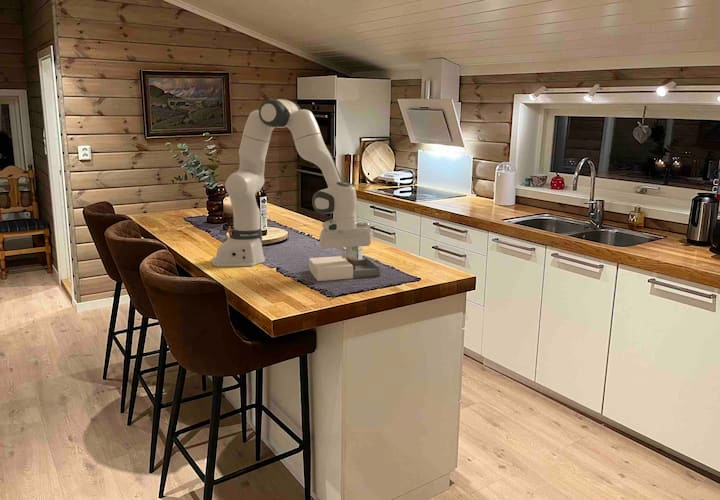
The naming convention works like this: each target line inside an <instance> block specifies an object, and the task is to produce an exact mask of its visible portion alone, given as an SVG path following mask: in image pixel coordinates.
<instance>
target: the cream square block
mask: <svg viewBox="0 0 720 500" xmlns="http://www.w3.org/2000/svg"><path fill="white" fill-rule="evenodd" d="M308 271H309V272H310V273H311V275H312V276H313V277H314V279H315V280H316V281H317V282H322V281H324V282H325V281H335V280H336V281H337V280H349V279H354V278H353V265H352V264H350V263H349V262H348V261H347V260H346V258H341V255H338V256H337V255H336V256H335V255H334V256H322V257H321V256H320V257H308Z"/></svg>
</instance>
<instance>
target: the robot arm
mask: <svg viewBox="0 0 720 500" xmlns="http://www.w3.org/2000/svg"><path fill="white" fill-rule="evenodd" d="M275 128H279V129H284V128H287V129H288V130H289V131H290V133H291V134H292V138H293V142H294V146H295V150H296V151H297V153H298V155H299V157H300V158H302V159H303V160H305V161H307V162H310V163H312V164H314V165H316V166H317V167H318V168H319V169H320V170H321V172H322V175H323V178H324V180H325V182H326V185H327V187H326V188H324V189H321V190H318V191H316V192H315V193H314V194H313V196H312V199H311V202H312V208H313V209H314V210H315V212H317V213H318V214H322V215H327V214H333V218H332V219H330V220H327V221H324V222H322V225H321V226H322V228H323V229H322V230H321V231H320V235H319V246H320V248H322V249H323V250H326V249H328V250H329V249H338V251H339V253H340V256H341V258H345V259H346V258H349V254H350V253H351V251H352V247H359V246H362V247H369V246H370V245H371V244H372V243H371V234H370V233H371V232H372V231H371V229H372V228H371V227H372V226H371V224H369V223H368V222H357V218H358V217H357V212H356V210H357V200H358V199H357V191H356V187H355V185H354V184H353V183H350V182H347V181H343V180H342V177H341V175H340V173H339V170H338V168H337V165H336V162H335V160H334V158H333V156H332V153H331V152H330V151H329V149H328V147H327V145H326V144H325V141H324V138H323V136H322V133H321V130H320V126H319V124H318V122H317V120H316V117H315V116H314V114H313V112H312V111H311V110H309V109H301V107H300V105H299V104H297V103H296V102H295V101H292V100H288V99H283V98H278V99H275V98H269V99H267V100H265V101H263V102H262V103H261V104H260V106H259V109H255V110H252V111H251V112H250V113H249V116H248V117H247V120H246V123H245V125H244V129H243V132H242V137H241V140H240V144H239V149H238V155H239V166H238V167H239V168H238V170H236V171H234V172H232V173H231V174H230V175H229V176H228V177H227V179H226V180H225V183H224V188H225V191H226V192H227V194H228V196H229V200H230V202H231V203H230V204H231V206H232V214H233V228H231V227H230V228H227V234H228V235H229V238H228V239H226V240H225V241H223V243H221V244H220V245H219V246H218V248H217V250H216V254H215V255H216V256H214V257H212V258H211V265H212V266H214V267H219V268H221V267H222V268H225V267H226V268H228V267H253V266H256V265H257V264H258V265H259V264H261V263H264V262H265V261H266V257H265V255H264V250H263V244H262V243H263V242H262V241H263V232H262V231H263V230H262V227H261V210H260V208H259V205H258V202H257V199H256V193H259V191H261V189H262V188H263V187H264V184H265V167H266V166H265V165H266V157H267V152H268V149H269V144H270V142H271V141H270V140H271V137H272V133H273V130H274V129H275ZM346 247H347V248H348V251H347V253H346V252H343V251H344V248H346Z"/></svg>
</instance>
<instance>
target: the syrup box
mask: <svg viewBox="0 0 720 500" xmlns="http://www.w3.org/2000/svg"><path fill="white" fill-rule="evenodd" d="M347 251H348V248H347V247H345V253H347ZM349 257H353V258H354V259H355V260H360V259H363V246H359V247H352V251H351V253H350V254H349ZM345 259H346V260H347V258H345Z"/></svg>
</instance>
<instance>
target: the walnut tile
mask: <svg viewBox="0 0 720 500" xmlns="http://www.w3.org/2000/svg"><path fill="white" fill-rule="evenodd" d="M347 261H348V262H349V263H350V264H352V265H353V270H355V259H354V258H353V257H349V258H347Z"/></svg>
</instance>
